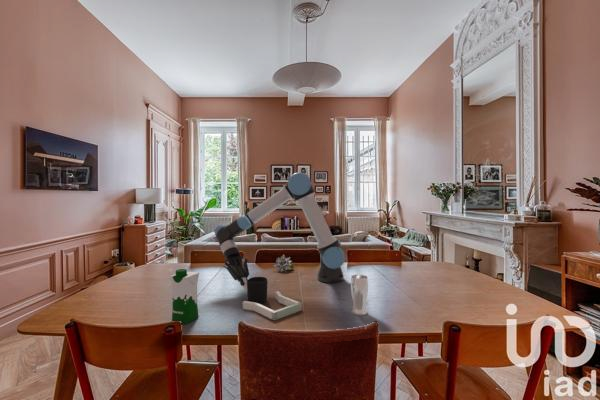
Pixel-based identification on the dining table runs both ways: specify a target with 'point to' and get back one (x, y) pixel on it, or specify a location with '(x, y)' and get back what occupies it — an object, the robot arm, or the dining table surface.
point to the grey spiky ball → (283, 263)
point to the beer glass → (359, 294)
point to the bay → (274, 315)
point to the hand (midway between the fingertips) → (248, 290)
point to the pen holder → (257, 289)
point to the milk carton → (184, 296)
